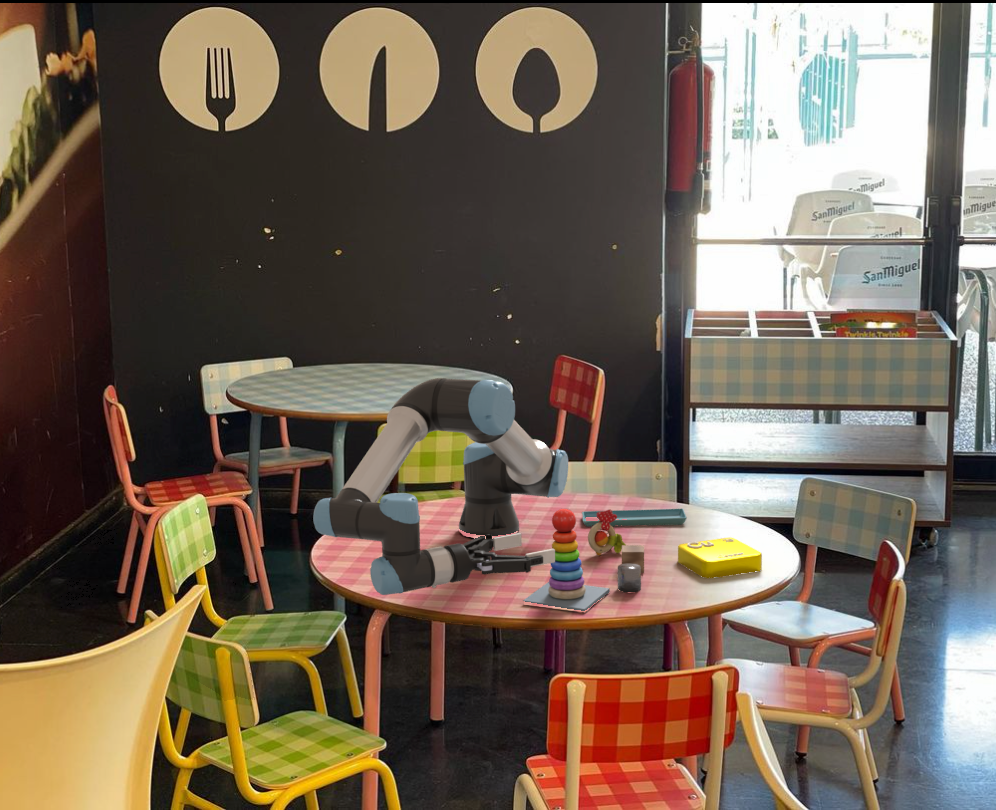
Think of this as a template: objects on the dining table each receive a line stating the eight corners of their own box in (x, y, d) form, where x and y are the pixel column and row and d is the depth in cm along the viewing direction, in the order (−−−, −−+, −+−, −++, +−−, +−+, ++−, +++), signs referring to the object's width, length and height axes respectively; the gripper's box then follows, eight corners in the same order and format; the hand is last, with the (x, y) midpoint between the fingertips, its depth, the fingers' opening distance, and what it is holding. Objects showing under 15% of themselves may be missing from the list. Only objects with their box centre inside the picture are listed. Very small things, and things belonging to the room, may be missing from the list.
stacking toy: (586, 588, 287) (585, 504, 284) (585, 601, 279) (583, 514, 276) (549, 588, 288) (547, 504, 284) (547, 600, 280) (545, 514, 277)
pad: (523, 605, 281) (523, 600, 281) (550, 584, 293) (550, 580, 293) (584, 613, 275) (584, 609, 275) (609, 592, 287) (609, 588, 287)
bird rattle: (607, 567, 311) (635, 545, 315) (591, 528, 307) (619, 507, 311) (591, 560, 316) (618, 539, 320) (575, 522, 312) (603, 501, 316)
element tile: (705, 581, 294) (705, 560, 294) (674, 562, 308) (674, 542, 307) (765, 572, 299) (765, 551, 298) (732, 554, 313) (732, 534, 312)
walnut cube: (621, 573, 300) (621, 551, 299) (622, 566, 305) (622, 545, 304) (644, 573, 300) (643, 552, 299) (644, 566, 305) (644, 545, 304)
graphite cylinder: (614, 591, 288) (614, 569, 287) (622, 584, 293) (622, 562, 292) (636, 594, 286) (635, 571, 285) (644, 587, 290) (644, 565, 289)
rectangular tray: (583, 529, 337) (582, 519, 336) (582, 519, 346) (581, 509, 345) (687, 527, 336) (687, 517, 335) (683, 517, 345) (683, 508, 344)
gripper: (419, 566, 279) (508, 549, 289) (476, 599, 258) (569, 580, 268) (418, 531, 278) (507, 516, 288) (474, 562, 257) (568, 544, 267)
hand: (537, 547), depth 278 cm, fingers open, 13 cm apart
